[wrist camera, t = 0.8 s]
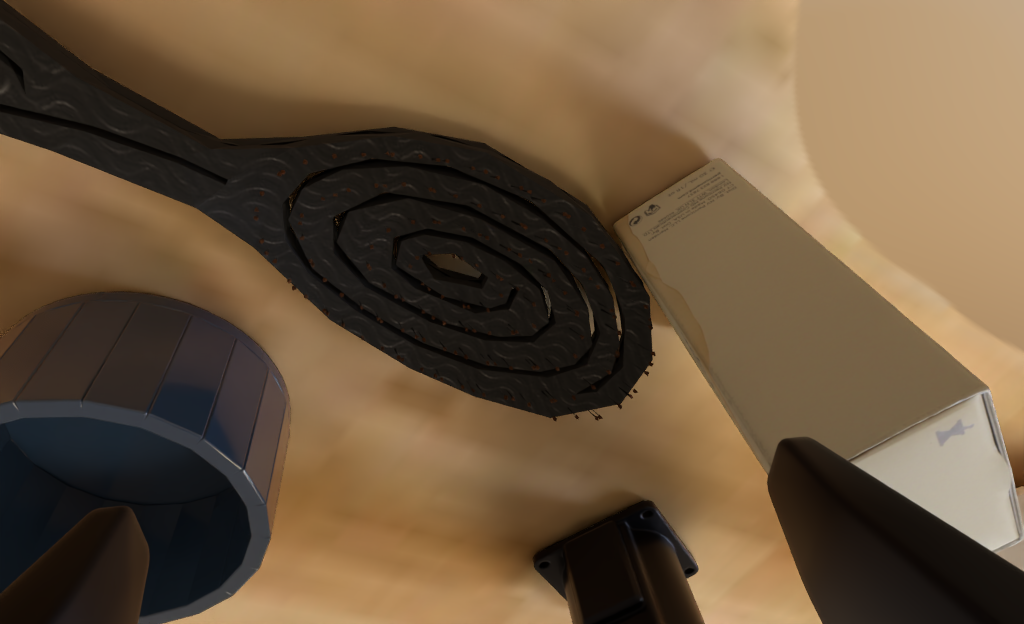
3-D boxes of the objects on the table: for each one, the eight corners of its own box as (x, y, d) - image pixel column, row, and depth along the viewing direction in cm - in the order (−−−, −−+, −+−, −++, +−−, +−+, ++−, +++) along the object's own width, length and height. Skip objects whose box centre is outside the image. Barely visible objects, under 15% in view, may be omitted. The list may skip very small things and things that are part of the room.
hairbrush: (-308, -272, 12) (725, 312, 21) (-154, -237, 15) (686, 256, 24) (-324, 130, 15) (572, 483, 24) (-195, 90, 18) (556, 416, 27)
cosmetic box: (607, 221, 23) (772, 491, 13) (723, 149, 22) (994, 378, 12) (679, 339, 26) (854, 626, 16) (782, 280, 26) (1034, 545, 16)
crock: (345, 426, 26) (335, 541, 22) (150, 536, 28) (103, 664, 23) (144, 236, 21) (75, 337, 16) (-82, 386, 23) (-202, 516, 18)
